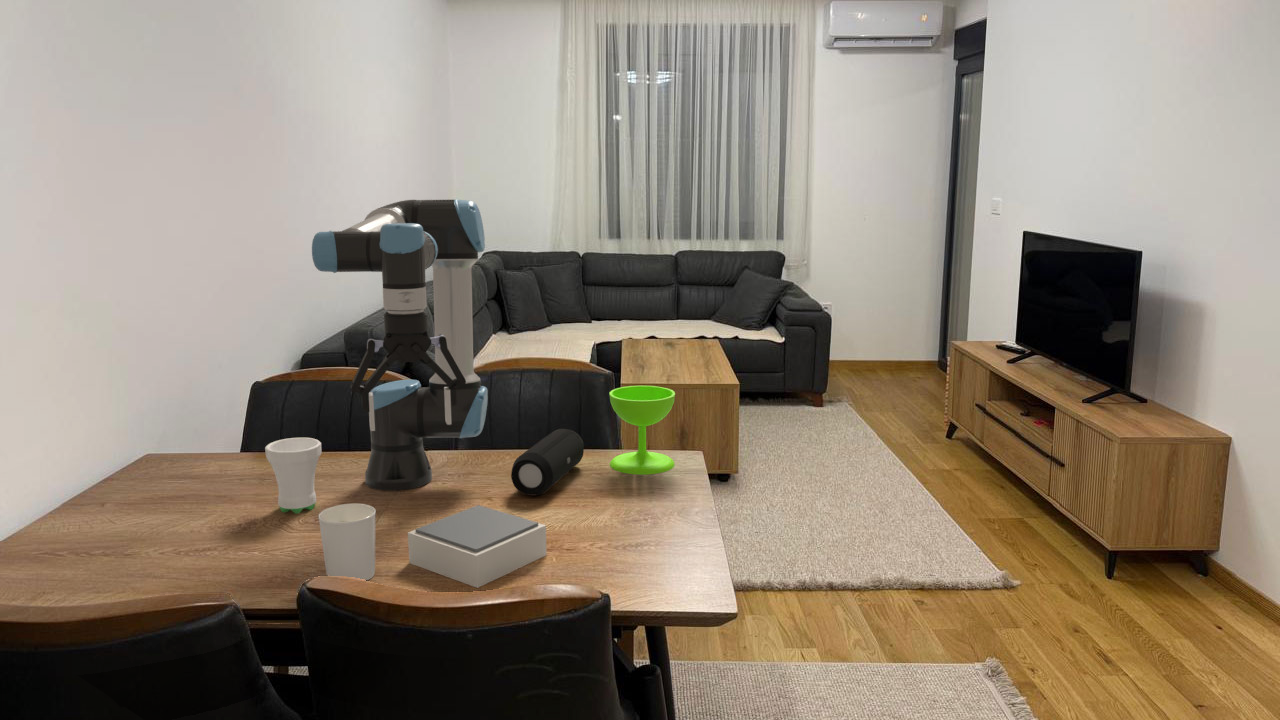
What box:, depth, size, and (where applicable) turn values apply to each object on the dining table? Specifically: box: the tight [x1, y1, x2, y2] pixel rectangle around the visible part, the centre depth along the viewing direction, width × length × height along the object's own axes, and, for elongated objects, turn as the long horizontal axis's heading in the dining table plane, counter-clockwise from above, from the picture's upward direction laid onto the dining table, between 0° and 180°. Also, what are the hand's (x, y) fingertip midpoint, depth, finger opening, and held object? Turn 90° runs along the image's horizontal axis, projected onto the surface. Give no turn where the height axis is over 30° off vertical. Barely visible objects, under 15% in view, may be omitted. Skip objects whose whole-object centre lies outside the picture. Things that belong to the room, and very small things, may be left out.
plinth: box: [407, 504, 548, 589], centre depth 184 cm, size 18×18×7 cm
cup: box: [264, 437, 322, 515], centre depth 209 cm, size 11×11×14 cm
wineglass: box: [608, 385, 676, 476], centre depth 239 cm, size 16×16×18 cm
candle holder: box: [317, 502, 377, 581], centre depth 176 cm, size 10×10×12 cm
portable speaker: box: [510, 428, 585, 496], centre depth 228 cm, size 26×10×10 cm, turn 164°
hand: (410, 426), depth 179 cm, fingers open, 13 cm apart
